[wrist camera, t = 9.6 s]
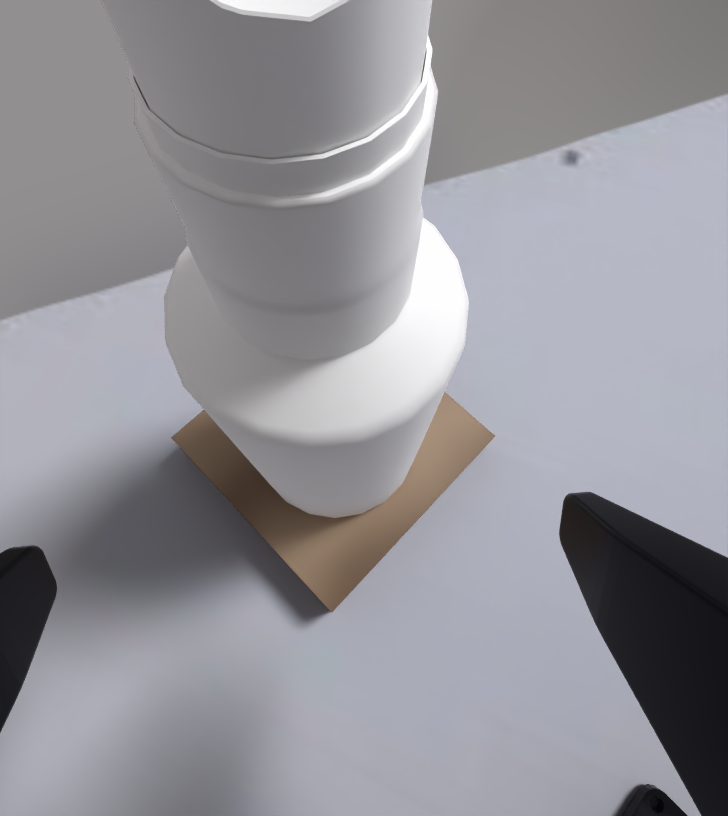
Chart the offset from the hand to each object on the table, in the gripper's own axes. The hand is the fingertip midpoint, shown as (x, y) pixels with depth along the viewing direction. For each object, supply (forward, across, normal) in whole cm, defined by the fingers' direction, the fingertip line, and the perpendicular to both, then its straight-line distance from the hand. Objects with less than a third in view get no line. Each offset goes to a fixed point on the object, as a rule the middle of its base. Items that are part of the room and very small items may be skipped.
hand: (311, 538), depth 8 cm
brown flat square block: (+13, 0, +6) cm, 15 cm away
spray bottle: (+12, 0, +5) cm, 13 cm away
